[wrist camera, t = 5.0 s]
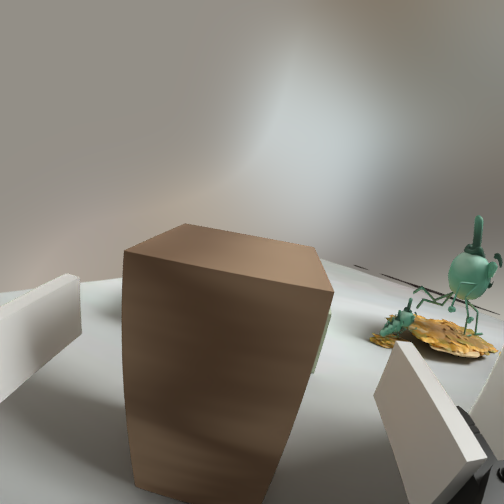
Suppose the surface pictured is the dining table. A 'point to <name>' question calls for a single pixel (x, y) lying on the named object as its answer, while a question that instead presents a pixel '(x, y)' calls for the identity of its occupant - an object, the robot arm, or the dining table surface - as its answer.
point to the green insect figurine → (464, 287)
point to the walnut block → (216, 358)
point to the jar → (492, 408)
